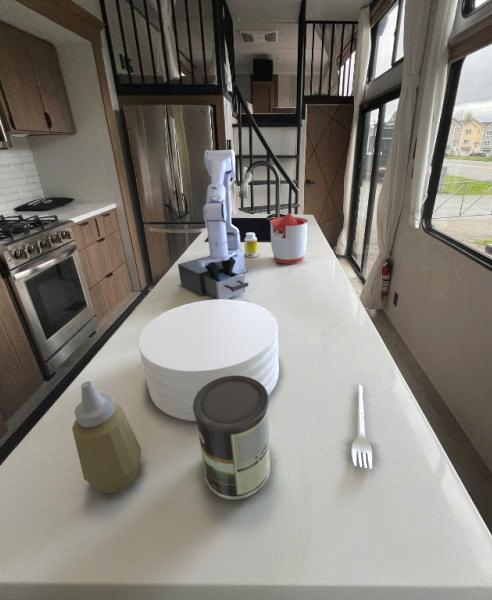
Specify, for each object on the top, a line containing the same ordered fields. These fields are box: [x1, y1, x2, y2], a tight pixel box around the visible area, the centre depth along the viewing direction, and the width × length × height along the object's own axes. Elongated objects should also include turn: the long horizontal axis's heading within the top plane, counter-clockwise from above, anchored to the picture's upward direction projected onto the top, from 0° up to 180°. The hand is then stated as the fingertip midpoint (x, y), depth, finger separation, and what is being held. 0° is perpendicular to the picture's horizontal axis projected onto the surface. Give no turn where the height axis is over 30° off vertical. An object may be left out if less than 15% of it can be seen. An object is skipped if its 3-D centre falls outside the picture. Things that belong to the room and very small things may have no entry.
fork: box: [350, 384, 373, 470], centre depth 57 cm, size 3×20×2 cm, turn 167°
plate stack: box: [137, 298, 280, 422], centre depth 69 cm, size 28×28×12 cm
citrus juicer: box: [269, 212, 309, 265], centre depth 135 cm, size 16×17×20 cm
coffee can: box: [193, 375, 271, 501], centre depth 47 cm, size 10×10×14 cm
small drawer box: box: [177, 256, 223, 297], centre depth 115 cm, size 14×12×8 cm
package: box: [218, 273, 231, 281], centre depth 107 cm, size 4×5×4 cm
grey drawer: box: [201, 268, 249, 300], centre depth 107 cm, size 17×10×6 cm, turn 44°
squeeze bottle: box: [71, 380, 142, 495], centre depth 46 cm, size 8×8×18 cm
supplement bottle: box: [244, 232, 259, 258], centre depth 145 cm, size 6×6×10 cm
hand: (221, 282), depth 107 cm, fingers closed on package, 4 cm apart
